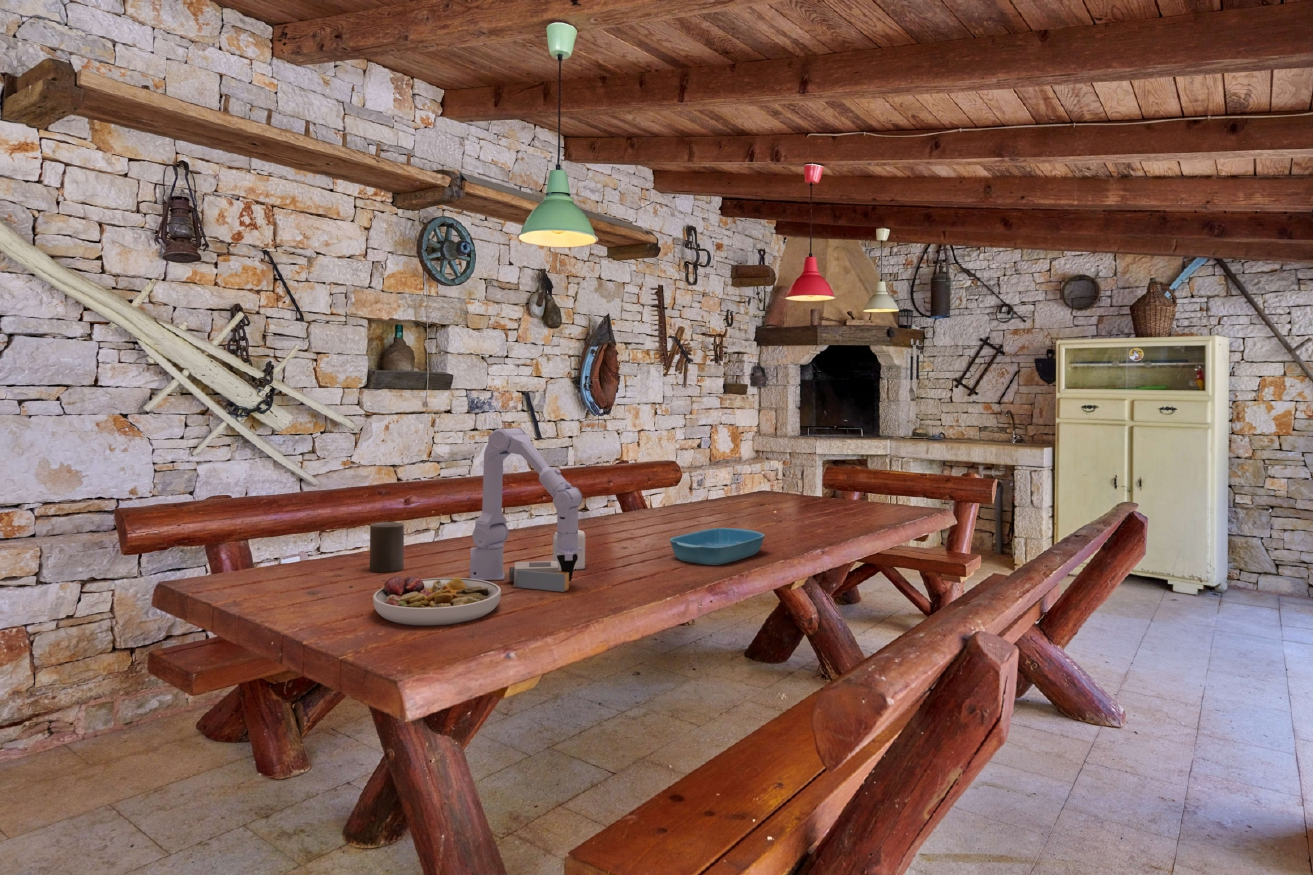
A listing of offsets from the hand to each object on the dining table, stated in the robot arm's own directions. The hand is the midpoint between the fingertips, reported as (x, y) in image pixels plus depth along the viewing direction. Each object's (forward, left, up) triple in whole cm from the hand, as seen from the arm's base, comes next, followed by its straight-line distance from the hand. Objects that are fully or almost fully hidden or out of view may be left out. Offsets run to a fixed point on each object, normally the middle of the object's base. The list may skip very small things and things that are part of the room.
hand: (567, 581), depth 217 cm
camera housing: (-8, +7, -2) cm, 11 cm away
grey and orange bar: (-7, 0, -2) cm, 7 cm away
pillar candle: (-52, +29, -2) cm, 60 cm away
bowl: (-32, -19, -2) cm, 38 cm away
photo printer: (+2, +23, -2) cm, 23 cm away
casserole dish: (+52, +38, -2) cm, 64 cm away
